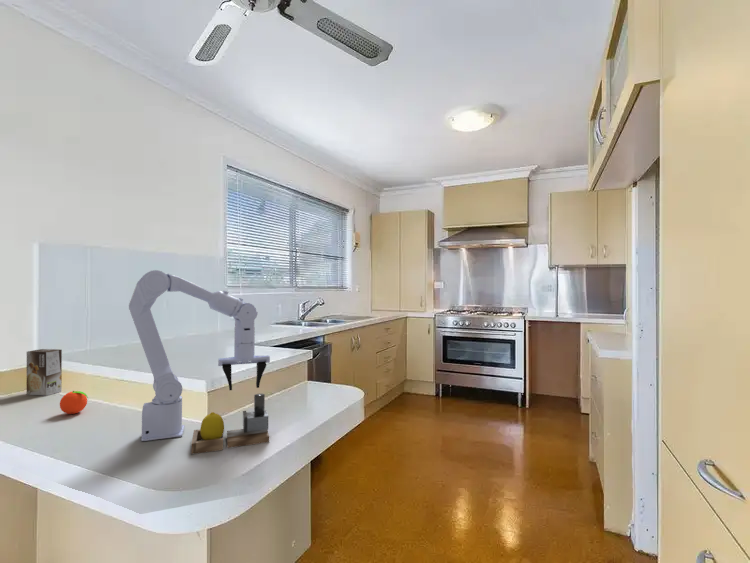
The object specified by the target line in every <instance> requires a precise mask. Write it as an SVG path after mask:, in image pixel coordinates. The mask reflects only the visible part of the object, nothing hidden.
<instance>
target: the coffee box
mask: <svg viewBox="0 0 750 563" xmlns="http://www.w3.org/2000/svg"><path fill="white" fill-rule="evenodd" d="M62 353H63V351H62V349H56V348H54V349H52V348H42V349H40V348H39V349H34V350H28V351H26V395H27V396H50V395H53V394H57V393H61V392H62V391H63V390H62V385H63V384H62V375H63V374H62V368H63V367H62V366H63V362H62V361H63V360H62V357H63V356H62V355H63V354H62Z"/></svg>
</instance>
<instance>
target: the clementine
mask: <svg viewBox="0 0 750 563" xmlns="http://www.w3.org/2000/svg"><path fill="white" fill-rule="evenodd" d="M88 399H89V397H88V395H87V394H86V393H85V392H84V391H78V390H72V391H69V392H67V393H66V394H64V395H63V396H62V398H61V399H60V401H59V408H60V411H62V412H63V413H64V414H68V415H75V414H78V413H80V412H81V411H83V410H84V409H85V408H86V406H87V405H88Z"/></svg>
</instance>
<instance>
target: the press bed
mask: <svg viewBox="0 0 750 563" xmlns="http://www.w3.org/2000/svg"><path fill="white" fill-rule="evenodd" d="M226 443H227V444H226V445H227V449H229V448H237V447H243V446H244V447H245V446H251V445H259V444H265V443H270V434H269V428H268V429H267V430H259V431H251V432H246V433H244V430H243V428H240V429H239V428H238V429H230V430H226Z"/></svg>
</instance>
